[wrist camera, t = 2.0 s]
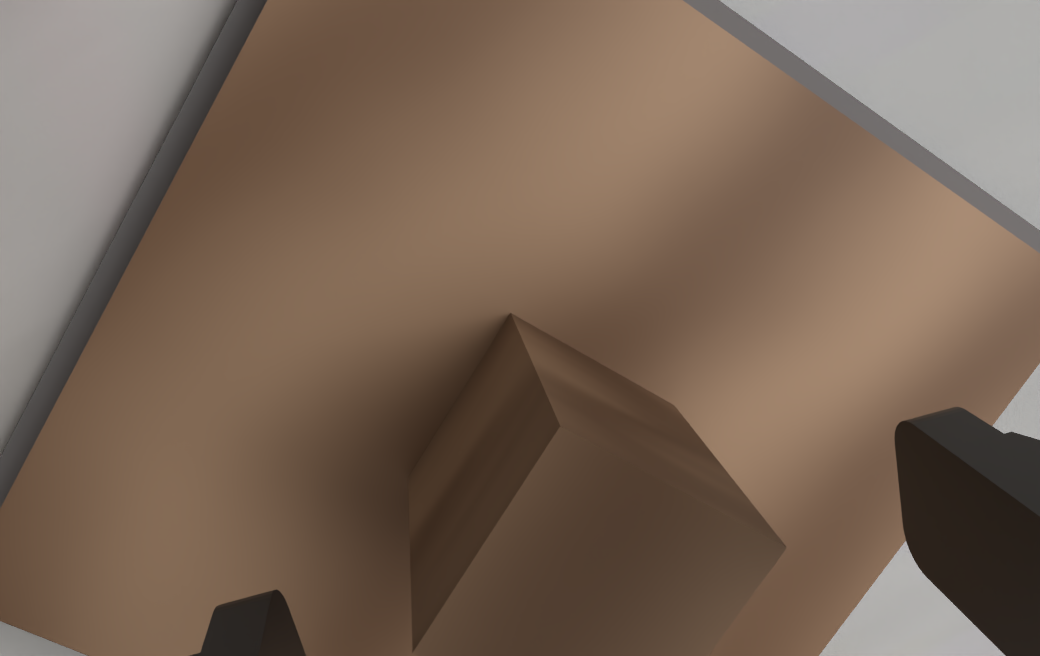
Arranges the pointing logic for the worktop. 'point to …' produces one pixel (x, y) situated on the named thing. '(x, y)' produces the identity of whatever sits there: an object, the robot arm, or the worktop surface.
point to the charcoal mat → (210, 82)
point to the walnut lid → (512, 349)
